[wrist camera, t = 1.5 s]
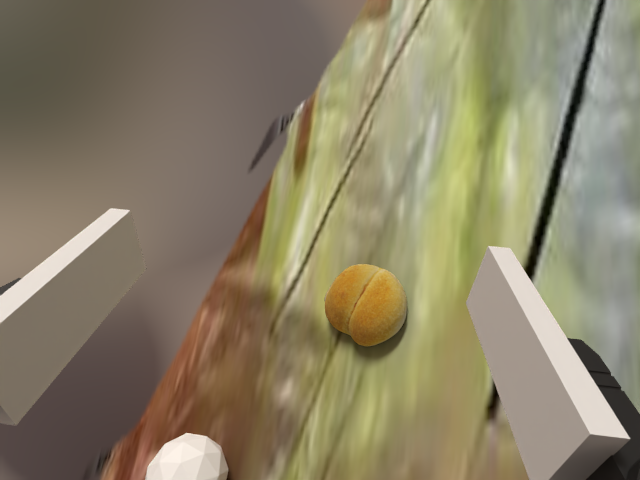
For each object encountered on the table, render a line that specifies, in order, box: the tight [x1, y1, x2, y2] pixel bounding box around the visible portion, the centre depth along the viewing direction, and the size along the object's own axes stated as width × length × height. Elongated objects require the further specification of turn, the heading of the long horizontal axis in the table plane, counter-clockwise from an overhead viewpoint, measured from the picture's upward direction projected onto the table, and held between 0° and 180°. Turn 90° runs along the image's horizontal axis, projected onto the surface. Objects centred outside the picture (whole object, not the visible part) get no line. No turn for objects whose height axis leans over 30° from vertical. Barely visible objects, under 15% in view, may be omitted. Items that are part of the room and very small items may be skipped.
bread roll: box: [325, 264, 407, 346], centre depth 37 cm, size 8×9×4 cm
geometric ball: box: [145, 433, 229, 480], centre depth 35 cm, size 8×8×8 cm
